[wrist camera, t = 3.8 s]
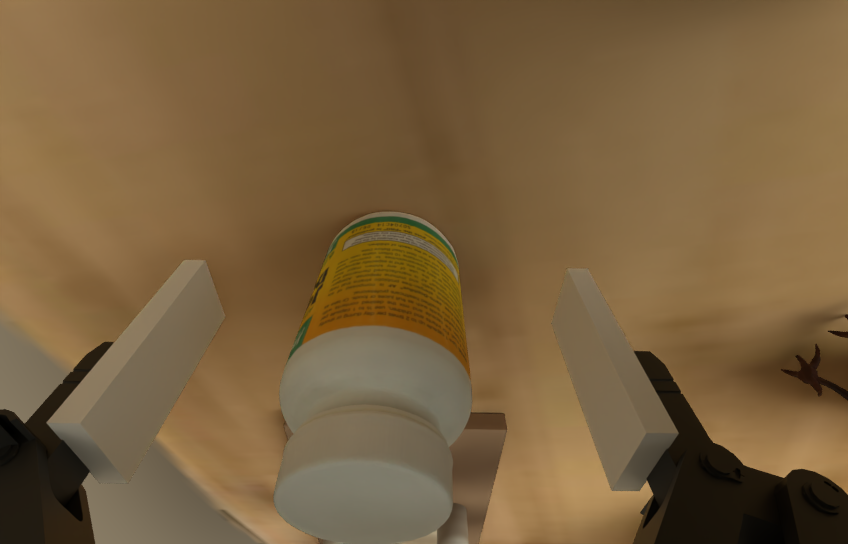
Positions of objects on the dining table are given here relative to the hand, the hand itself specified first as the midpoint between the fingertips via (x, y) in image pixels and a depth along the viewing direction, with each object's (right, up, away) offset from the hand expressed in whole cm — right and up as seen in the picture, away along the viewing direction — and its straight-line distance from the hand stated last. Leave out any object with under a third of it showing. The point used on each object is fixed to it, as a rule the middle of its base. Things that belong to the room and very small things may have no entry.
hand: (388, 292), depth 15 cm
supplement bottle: (0, +1, +2) cm, 2 cm away
